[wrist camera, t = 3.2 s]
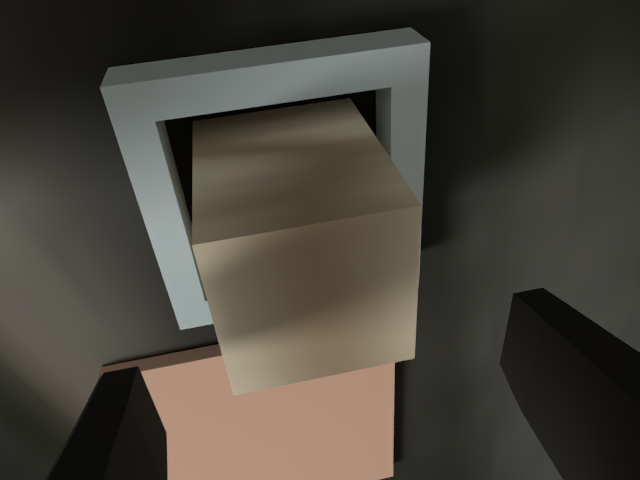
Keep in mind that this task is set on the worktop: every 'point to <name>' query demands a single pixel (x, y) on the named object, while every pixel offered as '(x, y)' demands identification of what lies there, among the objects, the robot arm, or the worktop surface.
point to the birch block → (303, 244)
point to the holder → (246, 92)
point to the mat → (270, 422)
